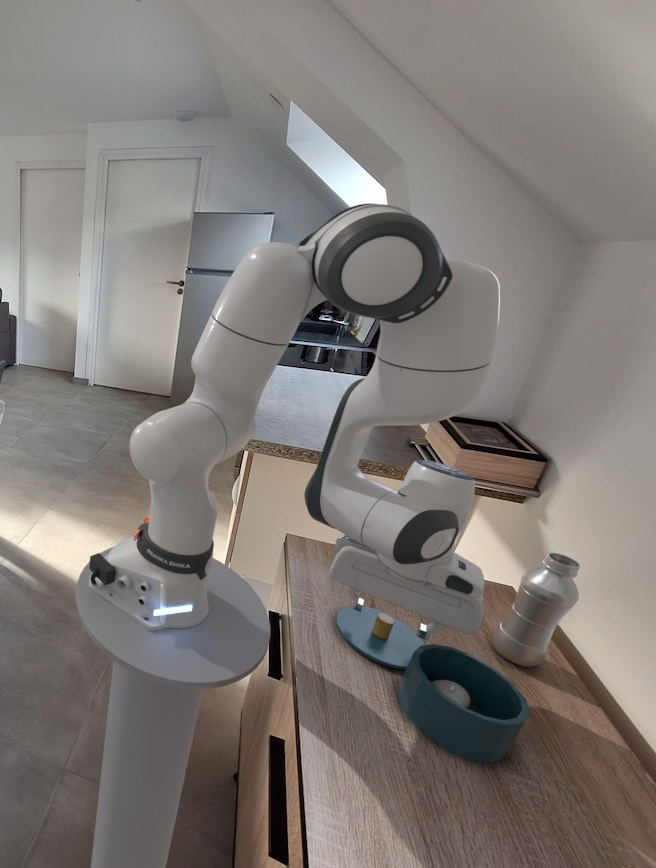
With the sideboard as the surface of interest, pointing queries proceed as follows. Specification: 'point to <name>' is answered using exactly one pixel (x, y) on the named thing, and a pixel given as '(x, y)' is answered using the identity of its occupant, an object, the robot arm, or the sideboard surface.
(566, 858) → the sideboard surface
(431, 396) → the robot arm
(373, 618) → the tin lid
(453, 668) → the tin
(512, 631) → the silver bottle
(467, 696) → the pale two-lobed sculpture
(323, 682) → the sideboard surface
